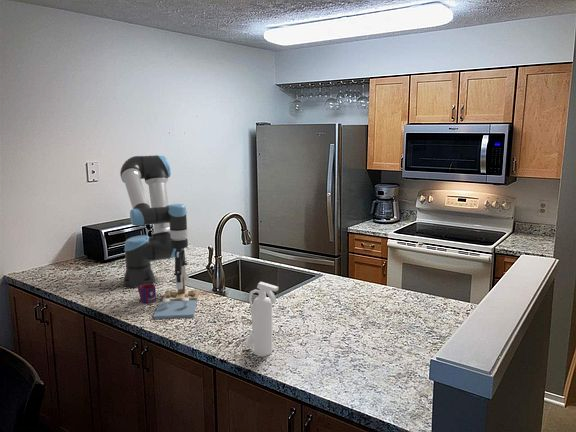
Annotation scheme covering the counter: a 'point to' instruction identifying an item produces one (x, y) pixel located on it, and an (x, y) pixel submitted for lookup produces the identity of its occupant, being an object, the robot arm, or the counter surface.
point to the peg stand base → (181, 293)
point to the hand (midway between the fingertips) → (181, 284)
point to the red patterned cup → (147, 293)
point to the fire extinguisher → (262, 319)
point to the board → (175, 309)
